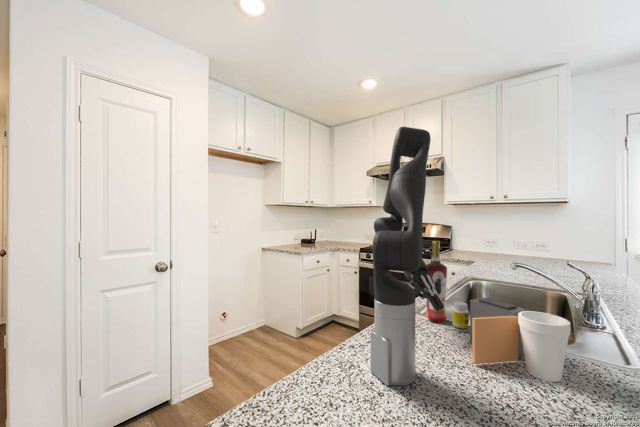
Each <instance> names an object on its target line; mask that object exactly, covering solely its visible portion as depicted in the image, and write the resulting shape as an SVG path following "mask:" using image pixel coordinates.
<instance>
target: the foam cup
mask: <svg viewBox="0 0 640 427" xmlns="http://www.w3.org/2000/svg"><path fill="white" fill-rule="evenodd" d="M518 324H519V326H520V332H521V338H522V345H523V351H524V356H523V357H524V364H525V367H526V371H527V372H528V374H529V375H531V376H533V377H535V378H538V379H540V380H542V381H547V382H551V383H552V382H554V383H557V382H561V380H562V376H563V373H564V367H565V366H564V365H565V362H566V356H567V348H568V343H569V342H568V341H569V336H570V335H571V322H570V320H568V319H567V318H564V317H562V316H559V315H556V314H552V313H547V312H541V311H533V310H527V311H522V312H519V313H518Z"/></svg>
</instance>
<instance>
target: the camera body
mask: <svg viewBox="0 0 640 427" xmlns="http://www.w3.org/2000/svg"><path fill="white" fill-rule="evenodd" d="M522 311H528V309H527V308H523V307H518V306H517V305H516V304H513V303H512V304H511V303H509V302H505V301H502V300H497V299H495V298H494V299H493V298H491V297H490V298H489V297H479V298H478V297H477V298H473V299H470V300H469V320H470V321H469V325H470V326H469V331H470V332H469V337H470V338H469V339H470V340H469V341H470V342H472V318H480V317H498V316H517V317H518V313H519V312H522ZM523 357H524V351H523V345H522V338H521V332H520V326H519V324H518V359H520V358H523Z"/></svg>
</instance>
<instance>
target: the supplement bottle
mask: <svg viewBox="0 0 640 427" xmlns="http://www.w3.org/2000/svg"><path fill="white" fill-rule="evenodd" d="M469 320H470V310H468V303H467V302H464V301H454V302H453V308H452V329H453V330H455V331H457V332H461V333H462V332H463V333H466V332H467V333H468V331H470V326H469V325H470V321H469Z"/></svg>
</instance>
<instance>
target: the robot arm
mask: <svg viewBox="0 0 640 427" xmlns="http://www.w3.org/2000/svg"><path fill="white" fill-rule="evenodd" d="M430 146H431V134H430V132H429V131H428V130H426V129H422V128H415V127H408V126H400V127H399V128H398V129H397V131H396V133H395V136H394V140H393V144H392V151H391V158H390V164H389V165H390V166H389V172H388V183H387V189H386V194H385V197H384V202H383V206H382V209H383V211H384V212H385V213H387V214H388V215H390V216H387V217H378V218H376V219H375V221H374V222H373V229H374V233H375V234H374V236H373V240H372V266H373V268H372V270H373V290H374V291H373V292H374V299H373V300H374V303H373V304H374V319H373V321H374V325H373V326H374V328H373V329H374V330H371V331H370V373H371V374H373V375H374V376H375V377H376V378H378V380H380V381H381V382H382V383H383V384H384V385H385V386H388V387H389V386H392V385H393V386H407V385H410V384H412V383H414V382H415V380H416V295H417V296H418V297H420V298H421V299H422V300H426V301H427V300H429V301H430V303H431V304H432V306H433V307H434V309H435V310H436V311H439V310H442V309H443V308H444V305H443V303H442V302H441V300H440V299H439V297H438V295H439V294H440V293H441V280H440V279H437V280H436V279H434V278H432V275H431V274H429V273H428V267H427V263H426V262H425V261H424V259H423V215H424V206H425V198H426V187H427V164H428V159H429V158H428V157H429V154H430V153H429V151H430ZM401 157H405V158H410V159H412V160H409V161H408V162H407V163H406V164H404V165H402V166H401ZM404 222H405V224H406V227H407V230H403V227H404ZM391 271H395V272H396V271H397V272H403V273H404V275H405V277H406V279H407V280H409V284H407V283H404V281H403V282H402V281H400V280H398V279H397V278H396V277H395V276H394V275H392V273H391Z"/></svg>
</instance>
